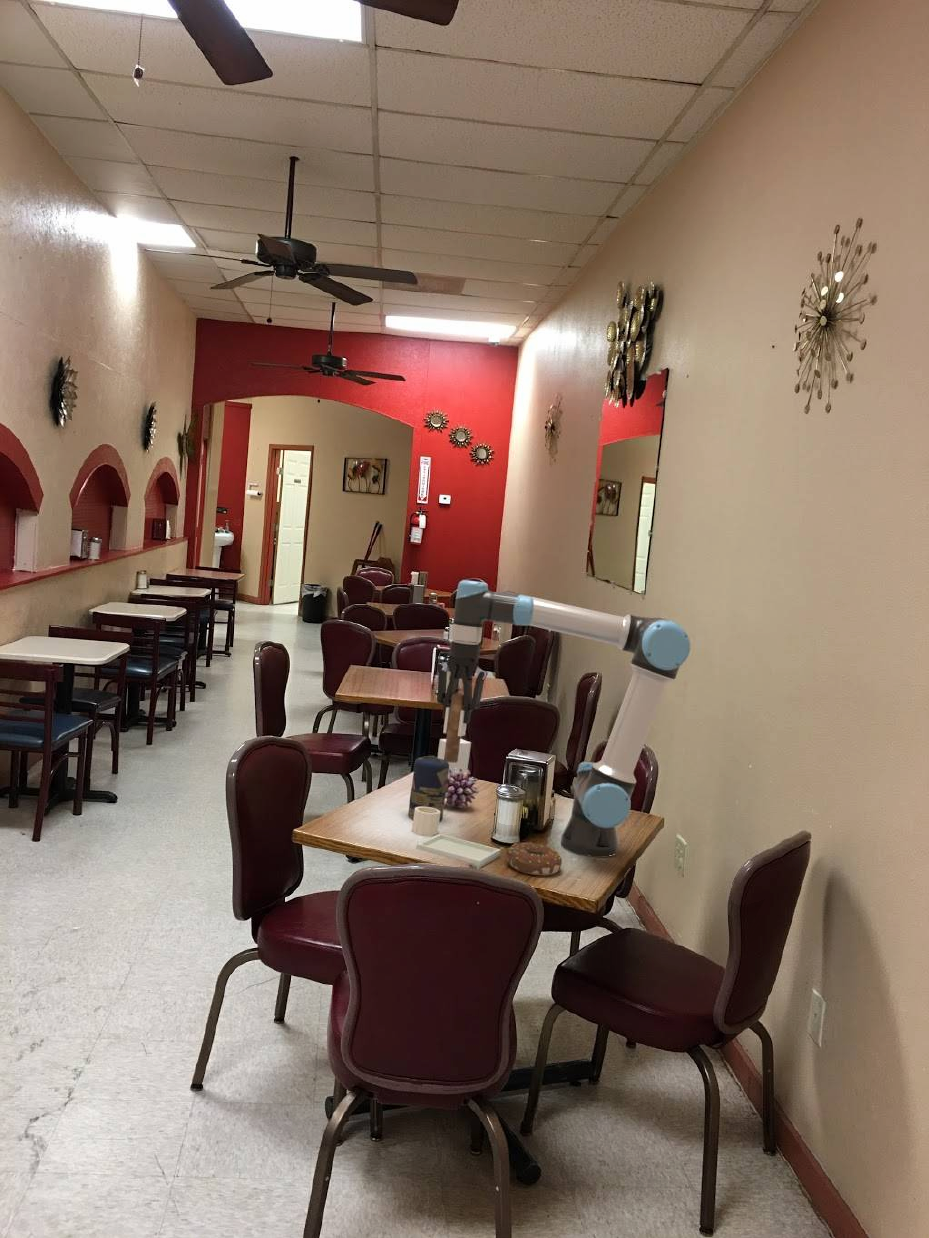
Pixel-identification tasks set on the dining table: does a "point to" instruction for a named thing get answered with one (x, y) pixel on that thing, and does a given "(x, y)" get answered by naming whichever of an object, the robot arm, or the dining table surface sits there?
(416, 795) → the canister
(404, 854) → the dining table surface
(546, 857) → the donut
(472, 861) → the tray
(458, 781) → the flower
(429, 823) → the tumbler
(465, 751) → the skincare box
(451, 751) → the dowel
